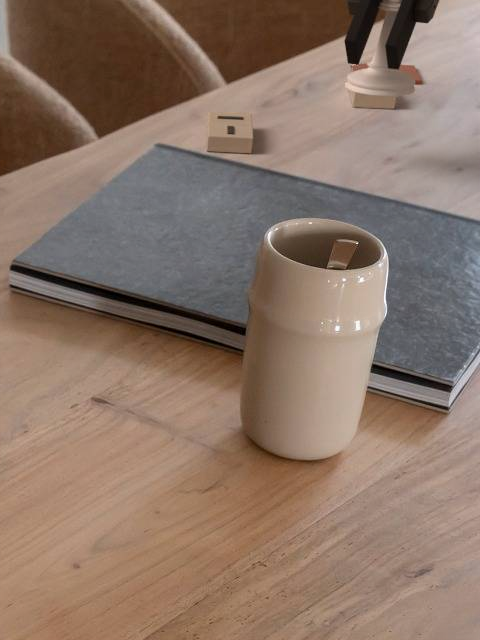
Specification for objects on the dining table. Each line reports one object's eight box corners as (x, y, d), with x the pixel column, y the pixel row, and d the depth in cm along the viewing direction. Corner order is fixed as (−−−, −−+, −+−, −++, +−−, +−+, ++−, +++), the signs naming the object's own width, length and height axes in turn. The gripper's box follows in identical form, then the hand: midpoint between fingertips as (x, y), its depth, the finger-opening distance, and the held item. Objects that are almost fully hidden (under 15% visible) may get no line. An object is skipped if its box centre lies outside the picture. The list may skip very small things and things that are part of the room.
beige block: (386, 88, 128) (389, 72, 128) (394, 109, 123) (397, 93, 122) (346, 86, 129) (349, 71, 128) (352, 107, 123) (355, 91, 122)
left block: (249, 128, 118) (252, 112, 117) (251, 153, 112) (253, 136, 111) (206, 126, 118) (208, 110, 118) (206, 151, 113) (208, 134, 112)
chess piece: (395, 100, 104) (423, -52, 98) (332, 89, 106) (356, -60, 101) (426, 87, 107) (455, -62, 101) (364, 76, 110) (389, -69, 104)
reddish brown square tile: (413, 68, 134) (414, 65, 134) (420, 84, 129) (421, 80, 129) (350, 66, 135) (351, 62, 135) (355, 81, 130) (355, 77, 130)
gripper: (370, -277, 105) (258, 10, 102) (596, -273, 98) (483, 34, 95) (377, -198, 112) (273, 73, 109) (589, -190, 105) (484, 100, 102)
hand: (371, 54), depth 102 cm, fingers closed on chess piece, 2 cm apart
